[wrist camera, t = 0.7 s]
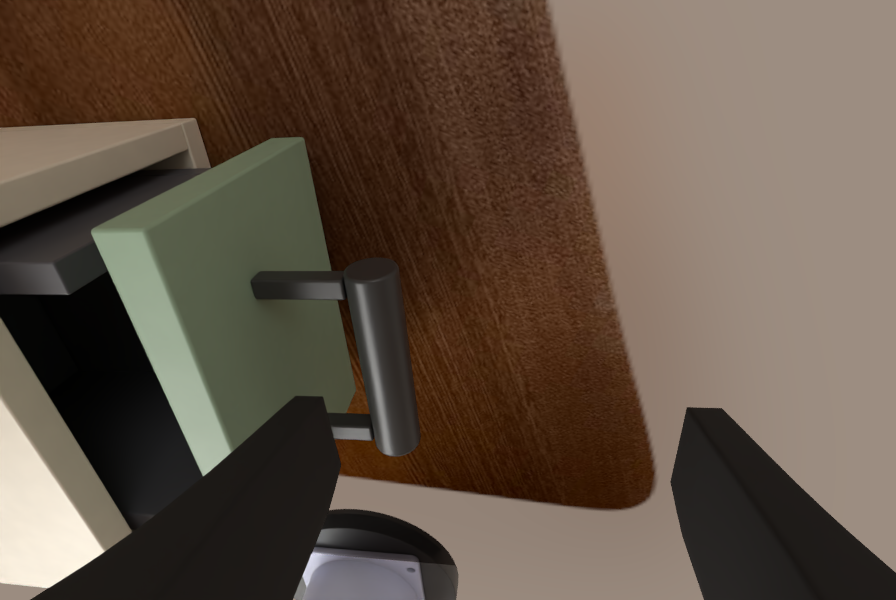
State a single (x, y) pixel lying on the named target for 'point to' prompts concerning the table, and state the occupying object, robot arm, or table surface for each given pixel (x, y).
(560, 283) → the table surface
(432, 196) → the table surface
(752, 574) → the robot arm
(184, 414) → the drawer
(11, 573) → the storage box
